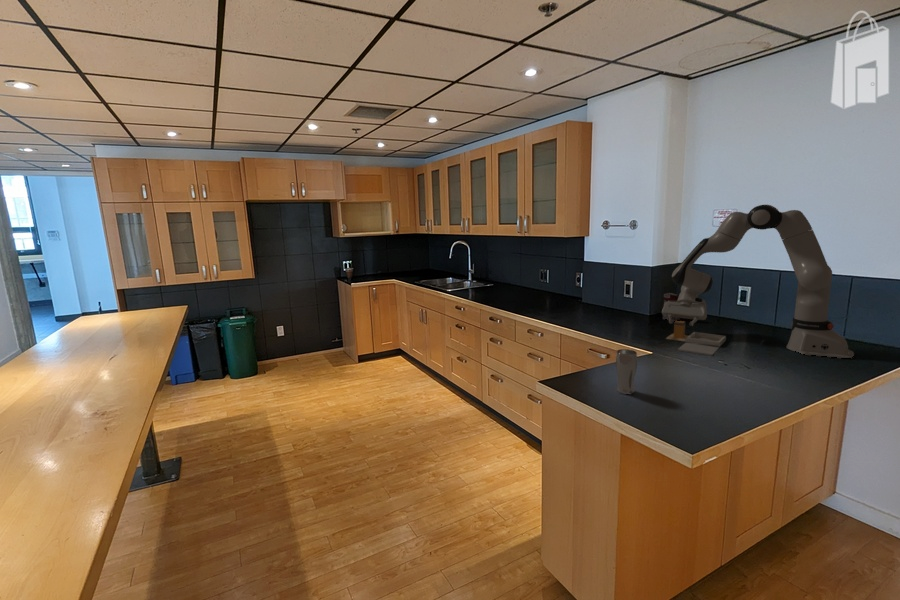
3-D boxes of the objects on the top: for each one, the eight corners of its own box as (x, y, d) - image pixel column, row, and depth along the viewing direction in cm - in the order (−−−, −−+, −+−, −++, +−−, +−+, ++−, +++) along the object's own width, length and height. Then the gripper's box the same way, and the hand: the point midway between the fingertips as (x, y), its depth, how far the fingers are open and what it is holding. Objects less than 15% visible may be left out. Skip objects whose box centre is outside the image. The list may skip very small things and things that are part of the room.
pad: (691, 337, 214) (692, 335, 214) (685, 343, 205) (685, 341, 205) (672, 335, 220) (672, 333, 220) (665, 340, 212) (665, 338, 211)
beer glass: (618, 386, 157) (619, 347, 155) (638, 390, 153) (639, 350, 150) (612, 392, 152) (613, 352, 149) (632, 396, 148) (633, 356, 145)
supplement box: (661, 319, 254) (663, 293, 251) (667, 318, 256) (668, 292, 253) (674, 321, 247) (676, 295, 244) (680, 320, 249) (681, 294, 246)
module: (684, 336, 213) (685, 321, 211) (682, 338, 210) (683, 323, 208) (675, 335, 215) (676, 320, 214) (673, 337, 213) (674, 322, 211)
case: (725, 341, 205) (726, 335, 204) (712, 356, 185) (712, 349, 185) (693, 337, 214) (693, 331, 214) (677, 350, 195) (678, 344, 194)
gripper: (664, 296, 222) (657, 318, 217) (708, 300, 208) (702, 323, 203) (666, 303, 226) (659, 324, 221) (710, 307, 212) (704, 330, 207)
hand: (680, 324), depth 212 cm, fingers open, 8 cm apart
